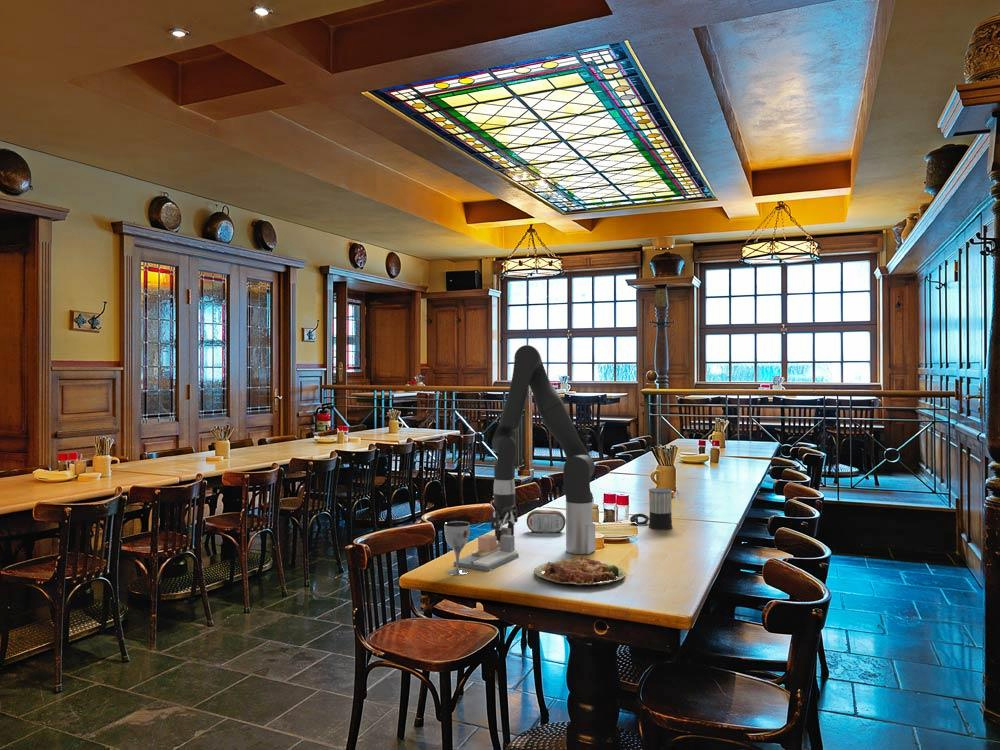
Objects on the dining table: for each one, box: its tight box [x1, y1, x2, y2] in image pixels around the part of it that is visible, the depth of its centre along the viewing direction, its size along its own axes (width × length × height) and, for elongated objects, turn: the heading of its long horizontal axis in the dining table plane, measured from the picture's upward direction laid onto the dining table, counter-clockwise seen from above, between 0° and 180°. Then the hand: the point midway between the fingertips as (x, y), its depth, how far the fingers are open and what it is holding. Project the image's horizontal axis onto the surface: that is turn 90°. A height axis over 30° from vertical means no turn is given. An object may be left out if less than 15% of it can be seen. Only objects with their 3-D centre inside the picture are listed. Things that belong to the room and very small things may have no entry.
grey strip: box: [473, 535, 517, 567], centre depth 226 cm, size 6×18×6 cm, turn 149°
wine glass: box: [443, 520, 471, 576], centre depth 215 cm, size 8×8×15 cm
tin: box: [526, 509, 566, 533], centre depth 267 cm, size 15×3×8 cm, turn 84°
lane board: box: [453, 549, 519, 572], centre depth 227 cm, size 13×19×2 cm
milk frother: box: [629, 487, 673, 530], centre depth 277 cm, size 14×16×15 cm
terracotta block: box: [477, 534, 498, 552], centre depth 234 cm, size 4×4×4 cm
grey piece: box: [471, 526, 511, 556], centre depth 237 cm, size 6×18×6 cm, turn 149°
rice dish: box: [533, 556, 626, 586], centre depth 211 cm, size 28×28×5 cm
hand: (504, 538), depth 243 cm, fingers open, 8 cm apart
